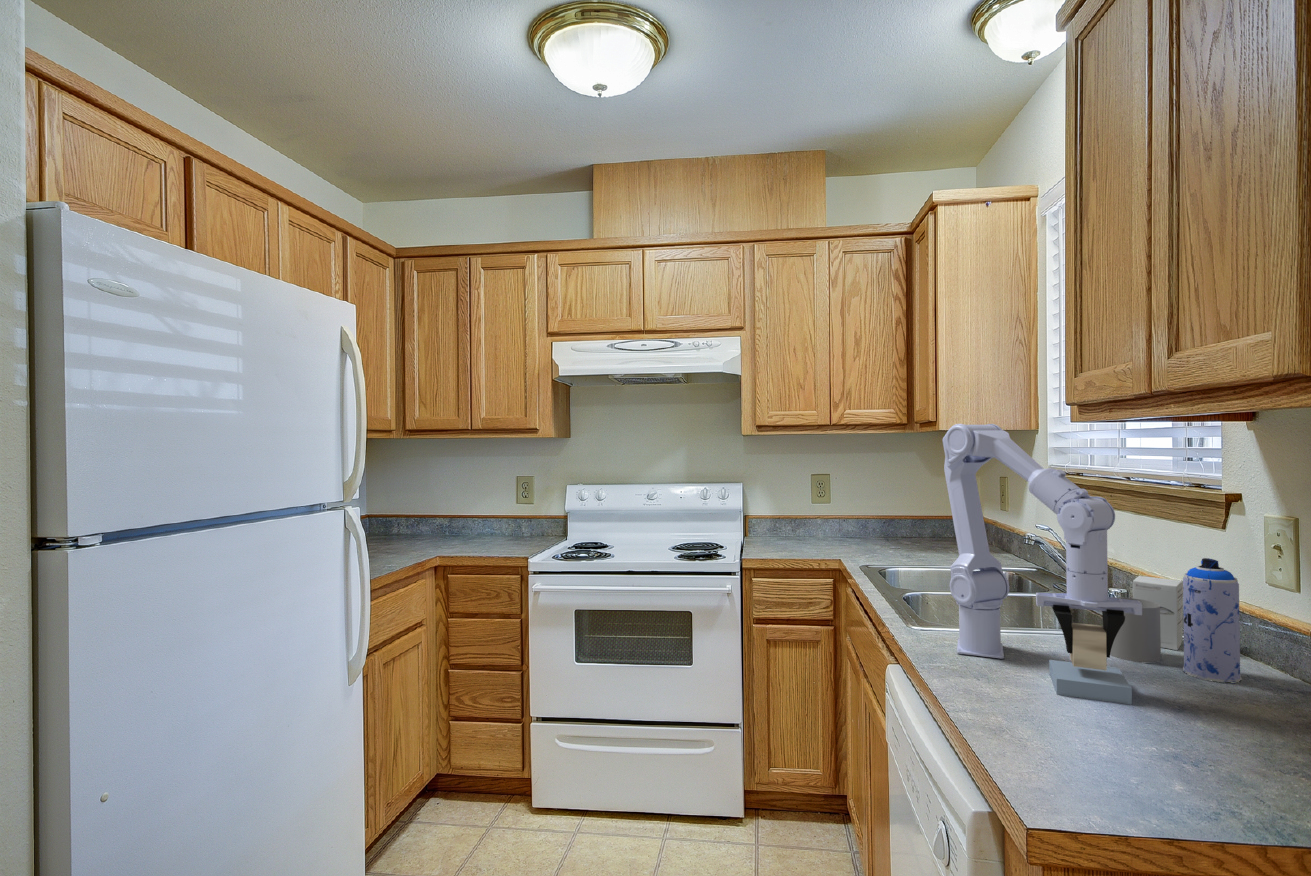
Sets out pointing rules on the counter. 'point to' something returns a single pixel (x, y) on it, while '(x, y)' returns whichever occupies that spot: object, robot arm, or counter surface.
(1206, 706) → the counter surface
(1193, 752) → the counter surface
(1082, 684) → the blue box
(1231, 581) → the aerosol can
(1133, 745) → the counter surface
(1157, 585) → the supplement box
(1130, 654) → the cup
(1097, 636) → the birch block
